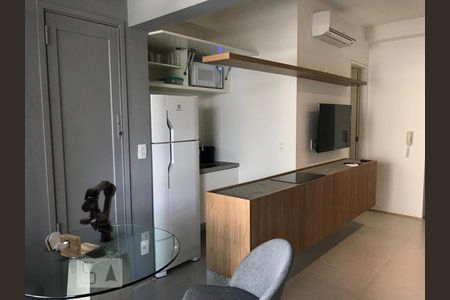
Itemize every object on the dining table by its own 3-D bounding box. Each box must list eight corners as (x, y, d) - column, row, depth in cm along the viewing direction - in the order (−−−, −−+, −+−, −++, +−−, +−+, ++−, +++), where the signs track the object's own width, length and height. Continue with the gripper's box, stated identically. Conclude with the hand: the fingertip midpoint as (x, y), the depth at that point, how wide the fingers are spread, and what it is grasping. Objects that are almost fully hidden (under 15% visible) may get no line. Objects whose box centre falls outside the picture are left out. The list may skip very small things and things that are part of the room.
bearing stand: (85, 244, 224) (83, 226, 223) (99, 248, 218) (98, 229, 216) (61, 255, 209) (59, 235, 207) (76, 259, 202) (74, 239, 201)
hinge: (56, 250, 216) (50, 237, 214) (49, 253, 215) (43, 240, 214) (65, 240, 232) (59, 228, 231) (59, 243, 232) (53, 230, 230)
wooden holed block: (73, 243, 211) (72, 236, 210) (78, 245, 209) (78, 237, 208) (57, 250, 201) (56, 242, 201) (62, 251, 199) (62, 243, 198)
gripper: (90, 213, 202) (92, 237, 204) (114, 205, 218) (115, 228, 220) (78, 210, 208) (80, 234, 210) (102, 203, 224) (103, 225, 226)
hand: (95, 230), depth 216 cm, fingers closed
